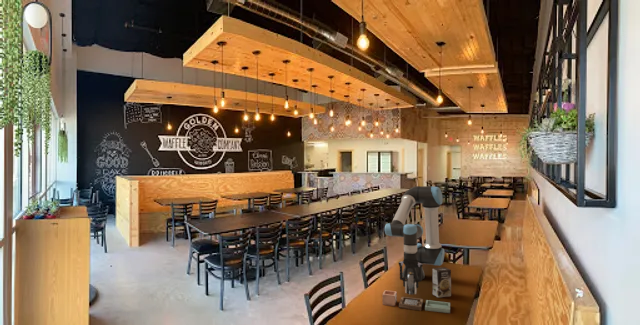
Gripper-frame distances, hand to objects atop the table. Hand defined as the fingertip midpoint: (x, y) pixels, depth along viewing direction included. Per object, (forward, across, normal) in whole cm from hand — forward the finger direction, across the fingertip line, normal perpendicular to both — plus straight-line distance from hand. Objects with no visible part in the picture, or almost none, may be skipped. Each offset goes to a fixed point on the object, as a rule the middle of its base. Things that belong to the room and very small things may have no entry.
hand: (410, 292), depth 211 cm
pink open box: (+7, -12, -1) cm, 14 cm away
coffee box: (+7, +16, +21) cm, 28 cm away
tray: (+7, +14, 0) cm, 16 cm away
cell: (0, 0, 0) cm, 0 cm away
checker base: (+7, 0, 0) cm, 7 cm away
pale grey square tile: (+6, 0, 0) cm, 6 cm away
